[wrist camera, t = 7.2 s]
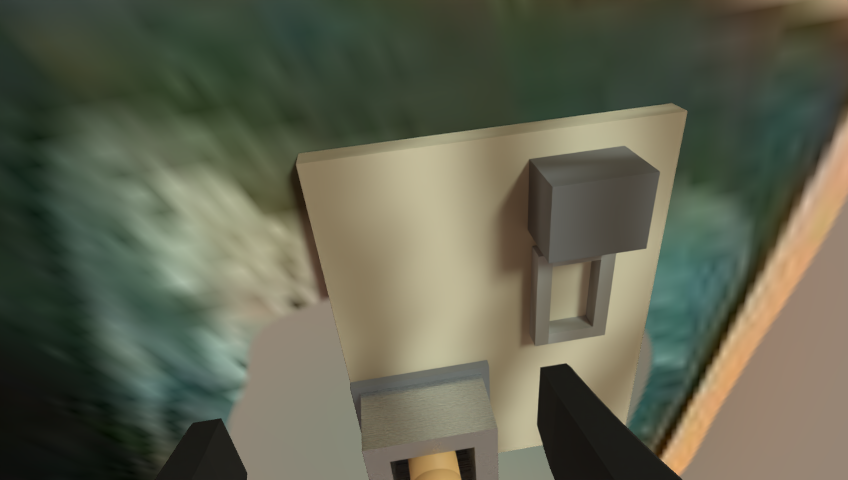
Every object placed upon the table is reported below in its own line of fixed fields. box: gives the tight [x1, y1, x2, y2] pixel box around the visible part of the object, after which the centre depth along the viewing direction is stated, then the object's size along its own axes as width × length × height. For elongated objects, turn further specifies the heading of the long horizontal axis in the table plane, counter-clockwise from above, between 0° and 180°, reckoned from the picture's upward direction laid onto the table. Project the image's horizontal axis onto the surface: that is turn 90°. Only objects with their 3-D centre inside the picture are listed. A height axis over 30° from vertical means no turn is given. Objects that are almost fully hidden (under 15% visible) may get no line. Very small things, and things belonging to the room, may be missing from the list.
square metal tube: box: [361, 373, 498, 480], centre depth 23 cm, size 6×6×3 cm
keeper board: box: [296, 103, 687, 453], centre depth 21 cm, size 14×18×3 cm
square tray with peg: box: [350, 360, 490, 480], centre depth 22 cm, size 6×6×5 cm
